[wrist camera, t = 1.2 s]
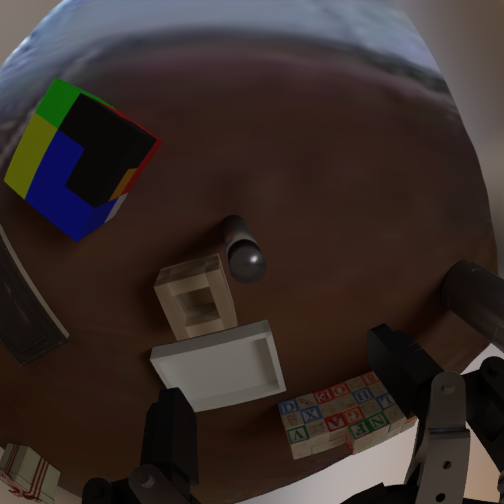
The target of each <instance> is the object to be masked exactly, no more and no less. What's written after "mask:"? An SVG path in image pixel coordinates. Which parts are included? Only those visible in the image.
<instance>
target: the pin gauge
mask: <svg viewBox="0 0 504 504" xmlns="http://www.w3.org/2000/svg"><path fill="white" fill-rule="evenodd" d="M222 230H223V236H224V241H225V246H226V252H227V257H228V262H229V268H230V272H231V275H232V276H233V278H234V279H236V280H237V281H239V282H241V283H245V284H249V283H253V282H256V281H258V280H259V279H260V278H261V277H262V276H263V275H264V273H265V271H266V260H265V258H264V256H263V254H262V252H261V251H260V249H259V247H258V245H257V243H256V242H255V240H254V238H253V236H252V234H251V232H250V231H249V229H248V227H247V225H246V223H245V221H244V220H243V219H242V218H241V217H240V216H238V215H230V216H228V217H226V218H225V219H224V221H223V223H222Z"/></svg>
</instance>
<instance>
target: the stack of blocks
mask: <svg viewBox="0 0 504 504" xmlns="http://www.w3.org/2000/svg"><path fill="white" fill-rule="evenodd" d="M278 406H279V411H280V416H281V419H282V423H283V426H284V430H285V433H286V436H287V439H288V442H289V445H290V448H291V451H292V455H293V458H294V459H298V458H302V457H305V456H308V455H311V454H315V453H318V452H322V451H325V450H327V449H330V448H333V447H336V446H339V445H341V444H343V443H345V442H346V444H347V446H348V448H349V450H350V452H351V454H352V455H355V454H357V453H360V452H362V451H364V450H367V449H369V448H371V447H374V446H375V445H377V444H380V443H382V442H384V441H386V440H388V439H390V438H392V437H394V436H396V435H398V434H399V433H402V432H404V431H405V430H407V429H409V428H411V427H413V426H414V425H415V422H416V420H417V416H414V417H412V418H410V419H409V420H407V418H406V417H405V415H404V414H403V412H402V411H401V410H400V408H399V407H398V405H397V404H396V402H395V401H394V399H393V398H392V397H391V395H390V394H389V392H388V391H387V390H386V388H385V387H384V385H383V384H382V382H381V381H380V380H379V378H378V377H377V375H376V374H375V373H374V371H370V372H368V373H365V374H363V375H360V376H358V377H355V378H352V379H349V380H347V381H345V382H342V383H340V384H337V385H334V386H331V387H329V388H326V389H323V390H320V391H317V392H314V393H310V394H307V395H303V396H300V397H297V398H293V399H289V400H286V401H282V402H279V403H278Z"/></svg>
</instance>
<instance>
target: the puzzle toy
mask: <svg viewBox="0 0 504 504" xmlns="http://www.w3.org/2000/svg"><path fill="white" fill-rule="evenodd" d="M162 143H163V141H162V140H160V139H159V138H158V137H156V136H155V135H153V134H152V133H150V132H149V131H147V130H146V129H144V128H143V127H142V126H140V125H139V124H137V123H136V122H134V121H133V120H131V119H130V118H128V117H127V116H125V115H124V114H122V113H121V112H119V111H118V110H116V109H115V108H113V107H112V106H110V105H109V104H107V103H106V102H104V101H103V100H101V99H100V98H98V97H96V96H94V95H92V94H90V93H88V92H86V91H84V90H82V89H80V88H78V87H76V86H74V85H72V84H69V83H67V82H65V81H63V80H61V79H59V78H57V77H56V79H55V80H54V82H53V83H52V85H51V86H50V88H49V90H48V91H47V93H46V94H45V96H44V98H43V99H42V101H41V103H40V104H39V106H38V108H37V110H36V111H35V113H34V115H33V117H32V119H31V121H30V122H29V124H28V126H27V128H26V130H25V132H24V134H23V136H22V138H21V141H20V143H19V145H18V147H17V149H16V151H15V154H14V156H13V158H12V161H11V163H10V166H9V168H8V171H7V173H6V176H5V179H4V181H5V182H6V183H7V184H8V185H9V186H10V187H11V188H12V189H13V190H14V191H16V192H17V193H18V194H19V195H20V196H21V197H22V198H23V199H24V200H26V201H27V202H28V203H29V204H30V205H31V206H33V207H34V208H35V209H36V210H37V211H38V212H40V213H41V214H42V215H43V216H44V217H46V218H47V219H48V220H49V221H50V222H52V223H53V224H54V225H55V226H57V227H58V228H59V229H60V230H62V231H63V232H64V233H65V234H67V235H68V236H69V237H71V238H72V239H73V240H75V241H76V242H78V241H80V240H81V239H83V238H84V237H85V236H87V235H88V234H90V233H91V232H92V231H94V230H95V229H97V228H98V227H100V226H101V225H102V224H104V223H105V222H107V221H108V220H110V219H111V218H113V217H114V216H115V214H116V212H117V211H118V209H119V207H120V206H121V204H122V202H123V201H124V199H125V197H126V196H127V194H128V193H129V191H130V189H131V188H132V186H133V185H134V183H135V182H136V180H137V178H138V177H139V175H140V174H141V172H142V171H143V169H144V168H145V167H146V165H147V164H148V162H149V161H150V159H151V158H152V156H153V155H154V154H155V152H156V151H157V149H158V148H159V147H160V145H161V144H162Z"/></svg>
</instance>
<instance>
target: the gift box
mask: <svg viewBox="0 0 504 504" xmlns="http://www.w3.org/2000/svg"><path fill="white" fill-rule="evenodd" d="M59 476H60V471H58V470H57V469H56V468H54V467H53V466H52V465H51V464H49V463H48V462H47V461H46V460H44V459H43V458H42V457H41V456H40V455H38V454H37V453H36V452H35V451H34V450H33V449H31V448H30V447H29V446H24V445H18V444H12V443H8V444H7V447H6V449H5V452H4V453H3V456H2V458H1V461H0V479H1V480H2V481H3V482H4V483H5V484H7V485H8V486H10V487H11V488H12V489H13V490H14V491H11V490H9V491H10V492H11V493H13V494H14V495H16V496H17V497H23V496H24V497H25V498H26V499H28V500H32V501H35V502H38V503H41V504H54V499H53V498H54V494H55V491H56V487H57V483H58V480H59Z"/></svg>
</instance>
